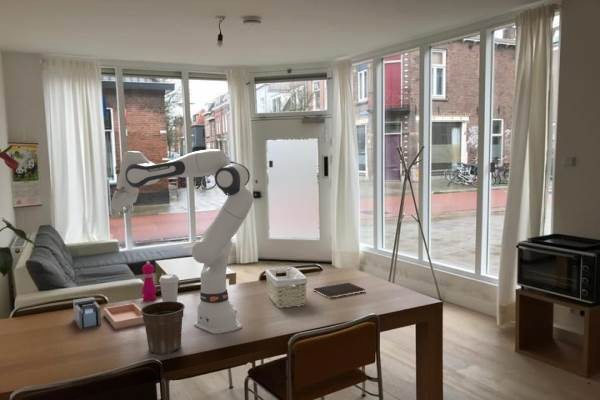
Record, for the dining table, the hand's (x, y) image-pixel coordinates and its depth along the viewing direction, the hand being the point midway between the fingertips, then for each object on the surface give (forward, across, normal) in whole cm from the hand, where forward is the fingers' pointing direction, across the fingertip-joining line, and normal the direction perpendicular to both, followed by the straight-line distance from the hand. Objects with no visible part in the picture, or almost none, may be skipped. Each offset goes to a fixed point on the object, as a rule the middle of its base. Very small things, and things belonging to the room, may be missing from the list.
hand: (121, 214), depth 219 cm
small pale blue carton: (+49, -12, +1) cm, 50 cm away
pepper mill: (+47, +22, -14) cm, 54 cm away
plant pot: (+35, -38, -41) cm, 67 cm away
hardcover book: (+23, +40, -109) cm, 118 cm away
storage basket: (+29, +23, -82) cm, 90 cm away
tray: (+45, -8, -14) cm, 47 cm away
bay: (+48, -12, +1) cm, 50 cm away
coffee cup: (+43, +12, -28) cm, 52 cm away
